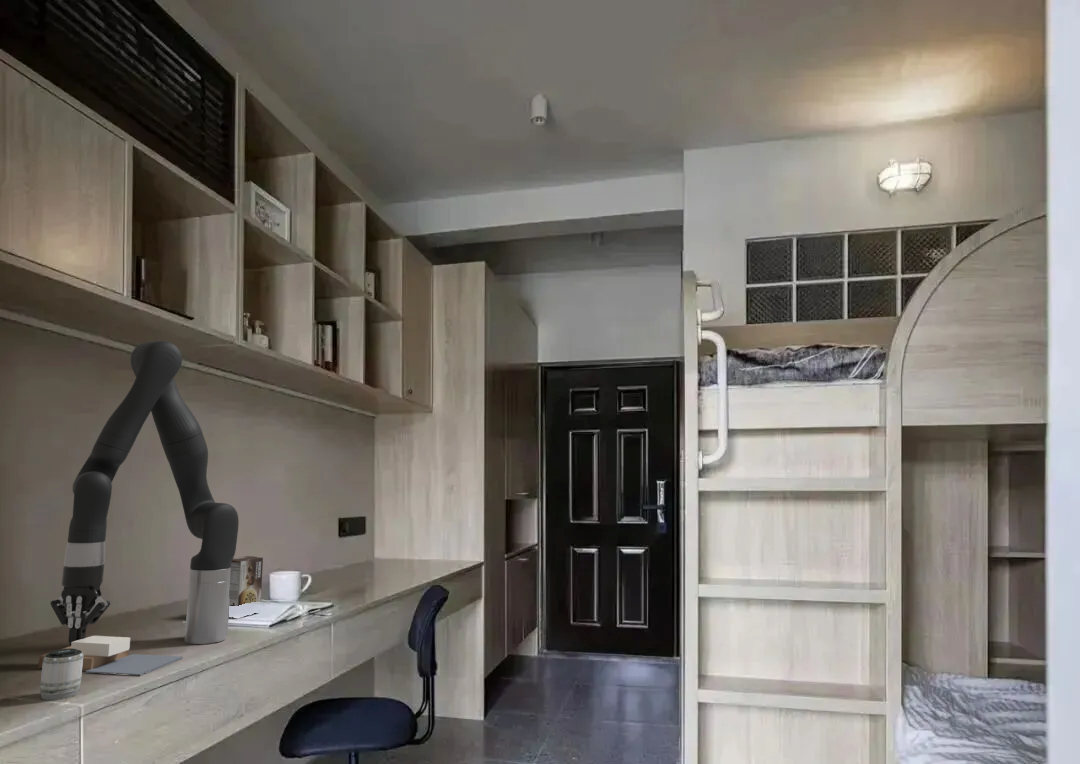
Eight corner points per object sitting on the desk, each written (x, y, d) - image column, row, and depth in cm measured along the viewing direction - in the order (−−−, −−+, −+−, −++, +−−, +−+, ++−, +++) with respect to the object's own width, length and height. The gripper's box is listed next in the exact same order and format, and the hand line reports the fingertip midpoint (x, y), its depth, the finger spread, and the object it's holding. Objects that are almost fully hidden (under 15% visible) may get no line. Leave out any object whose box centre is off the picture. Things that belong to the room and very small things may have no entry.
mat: (132, 655, 158) (132, 654, 158) (182, 658, 156) (182, 656, 156) (85, 673, 144) (85, 671, 144) (139, 676, 142) (139, 674, 142)
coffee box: (243, 611, 209) (247, 555, 211) (260, 613, 207) (264, 556, 209) (219, 617, 200) (223, 558, 203) (237, 619, 198) (241, 560, 200)
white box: (92, 647, 155) (93, 635, 155) (129, 649, 153) (130, 637, 153) (70, 654, 149) (71, 641, 149) (108, 656, 147) (109, 644, 148)
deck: (78, 655, 158) (79, 643, 158) (128, 657, 156) (129, 645, 156) (38, 668, 147) (39, 655, 147) (90, 671, 145) (92, 658, 146)
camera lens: (33, 696, 129) (38, 651, 130) (72, 688, 134) (76, 645, 135) (46, 703, 125) (50, 657, 126) (85, 694, 130) (89, 650, 131)
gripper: (124, 562, 157) (116, 643, 155) (70, 560, 159) (62, 639, 157) (99, 566, 150) (90, 651, 148) (43, 564, 152) (34, 648, 150)
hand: (76, 645), depth 152 cm, fingers closed
